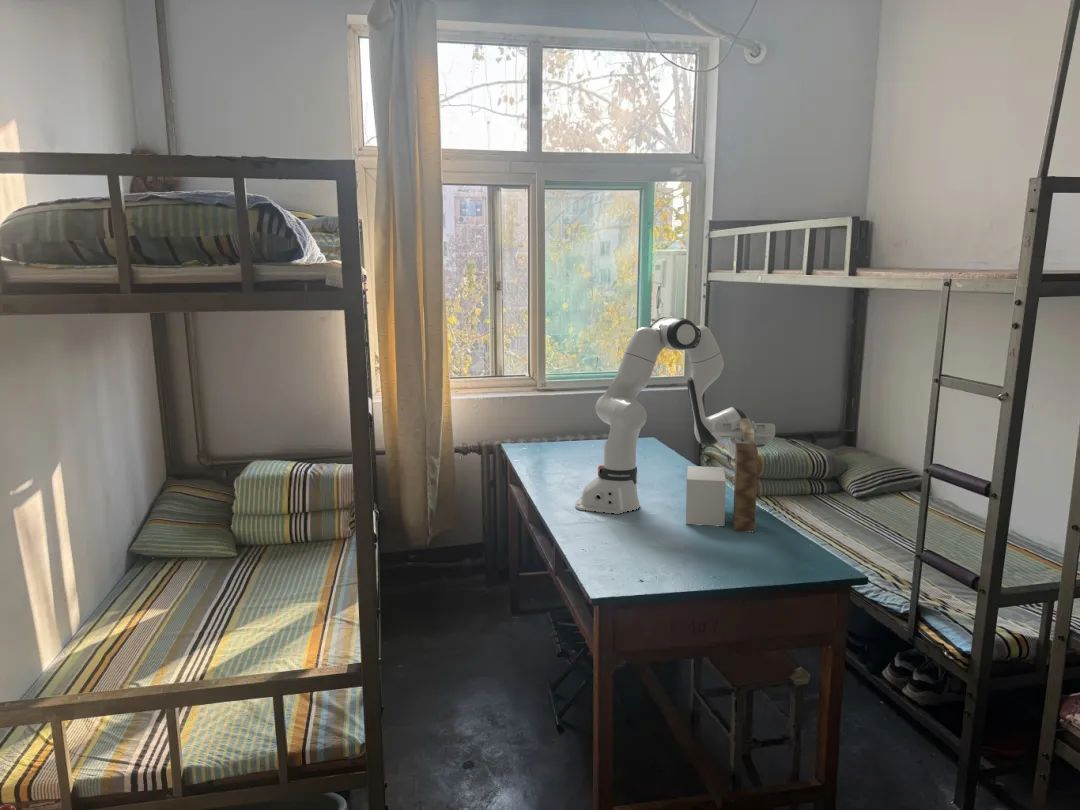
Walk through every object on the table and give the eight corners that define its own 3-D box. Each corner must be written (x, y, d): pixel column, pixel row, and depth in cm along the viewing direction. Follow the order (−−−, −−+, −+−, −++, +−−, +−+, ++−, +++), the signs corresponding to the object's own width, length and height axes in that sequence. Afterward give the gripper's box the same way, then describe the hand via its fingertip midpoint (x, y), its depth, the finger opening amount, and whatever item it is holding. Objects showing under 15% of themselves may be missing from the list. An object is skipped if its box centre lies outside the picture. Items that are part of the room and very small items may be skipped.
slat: (743, 440, 218) (743, 432, 217) (739, 425, 241) (739, 418, 241) (754, 440, 217) (754, 432, 217) (748, 426, 240) (748, 418, 240)
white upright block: (685, 524, 234) (686, 479, 231) (686, 508, 251) (687, 465, 249) (724, 526, 231) (725, 481, 229) (722, 510, 249) (723, 467, 246)
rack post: (734, 531, 227) (737, 449, 223) (733, 521, 236) (735, 443, 232) (754, 532, 226) (757, 450, 221) (752, 522, 235) (755, 443, 231)
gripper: (711, 426, 253) (712, 412, 240) (772, 428, 248) (776, 414, 236) (710, 444, 251) (711, 430, 238) (772, 446, 246) (777, 433, 234)
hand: (744, 422), depth 237 cm, fingers closed on slat, 3 cm apart
